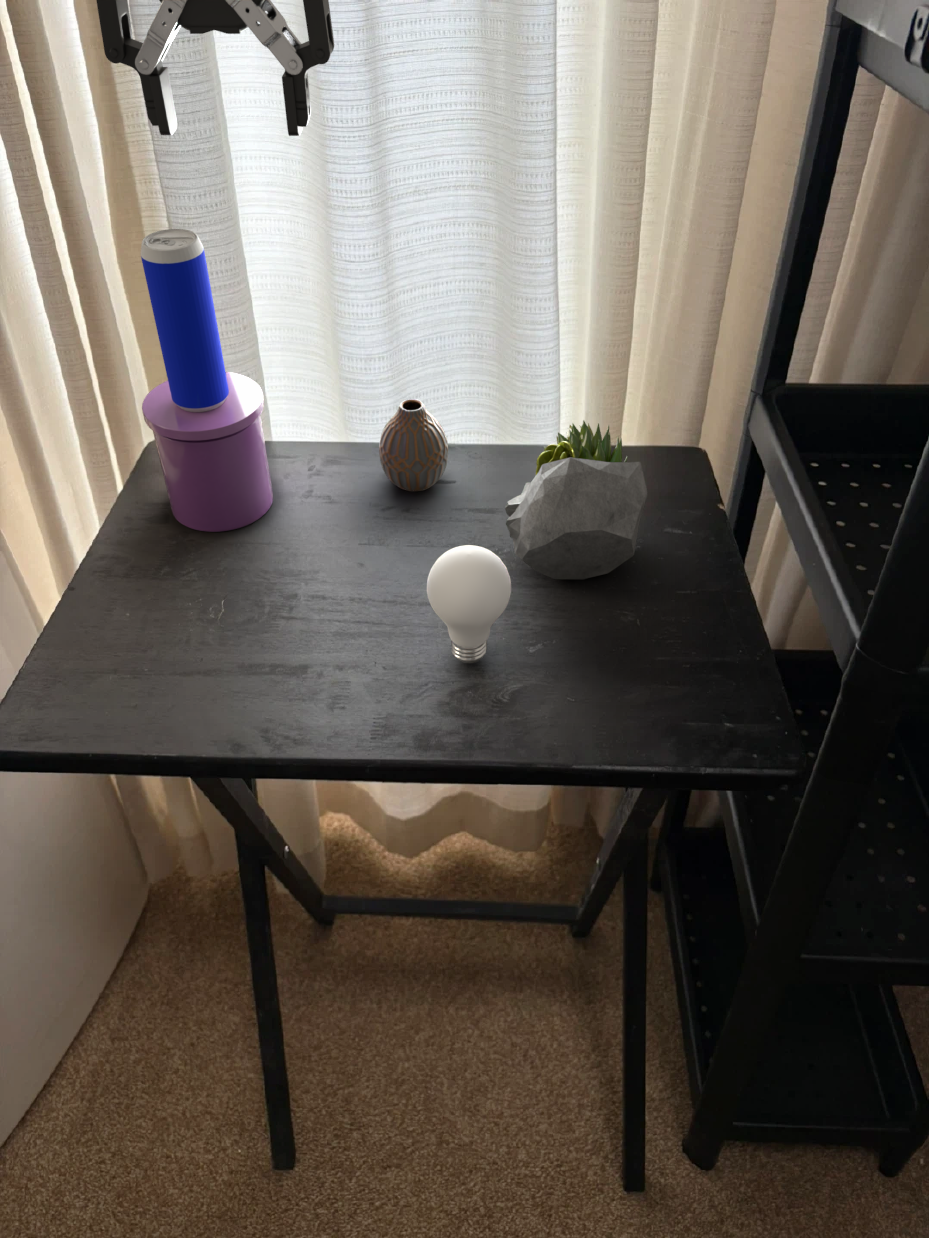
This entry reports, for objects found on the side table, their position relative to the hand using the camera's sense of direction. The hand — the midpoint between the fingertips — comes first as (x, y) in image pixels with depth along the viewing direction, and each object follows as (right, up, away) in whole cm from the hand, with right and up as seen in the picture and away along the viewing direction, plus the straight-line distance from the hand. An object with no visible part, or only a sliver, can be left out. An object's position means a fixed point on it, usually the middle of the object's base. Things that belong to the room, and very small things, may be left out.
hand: (233, 132), depth 69 cm
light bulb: (+16, -36, +17) cm, 43 cm away
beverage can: (-9, -13, +26) cm, 30 cm away
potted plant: (+25, -26, +28) cm, 46 cm away
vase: (+10, -19, +37) cm, 42 cm away
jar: (-9, -21, +34) cm, 41 cm away
